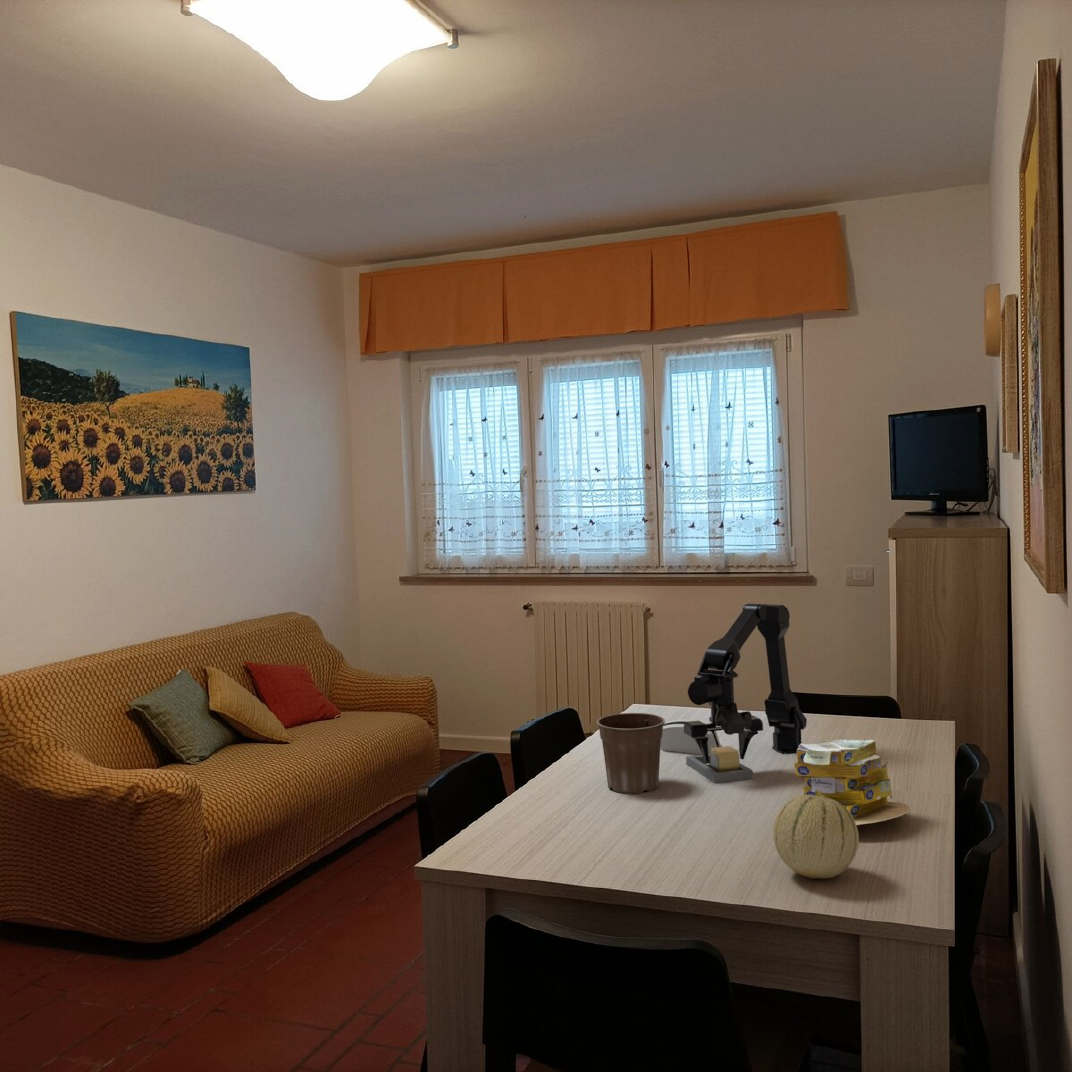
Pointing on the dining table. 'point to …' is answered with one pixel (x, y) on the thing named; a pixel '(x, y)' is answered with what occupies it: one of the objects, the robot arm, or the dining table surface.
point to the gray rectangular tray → (705, 770)
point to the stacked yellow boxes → (849, 778)
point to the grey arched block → (684, 738)
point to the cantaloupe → (816, 836)
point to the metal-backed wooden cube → (724, 759)
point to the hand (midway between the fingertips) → (724, 761)
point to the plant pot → (631, 750)
